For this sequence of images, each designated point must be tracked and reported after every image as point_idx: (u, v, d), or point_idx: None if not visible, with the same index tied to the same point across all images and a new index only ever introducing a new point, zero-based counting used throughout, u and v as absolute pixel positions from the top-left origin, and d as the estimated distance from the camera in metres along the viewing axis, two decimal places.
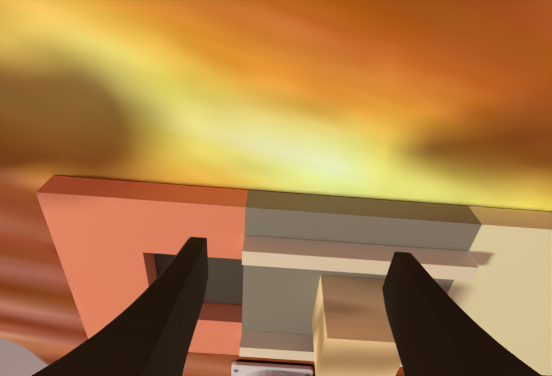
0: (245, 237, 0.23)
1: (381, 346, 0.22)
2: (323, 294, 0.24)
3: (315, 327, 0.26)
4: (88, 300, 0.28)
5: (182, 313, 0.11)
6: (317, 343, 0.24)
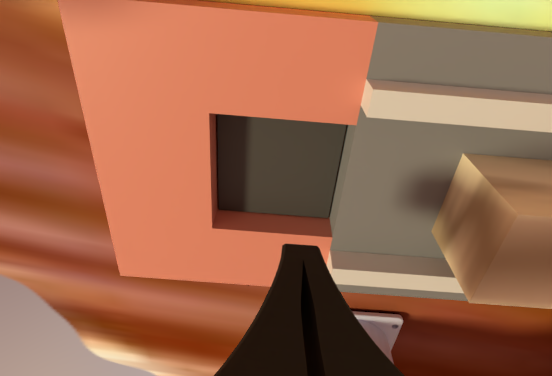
0: (368, 80, 0.16)
1: None
2: (480, 171, 0.16)
3: (451, 231, 0.18)
4: (123, 201, 0.20)
5: None
6: (466, 247, 0.17)
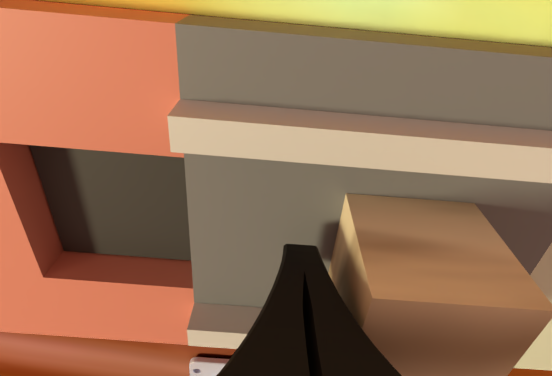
0: (181, 101, 0.12)
1: (490, 318, 0.10)
2: (354, 221, 0.12)
3: None
4: None
5: None
6: None
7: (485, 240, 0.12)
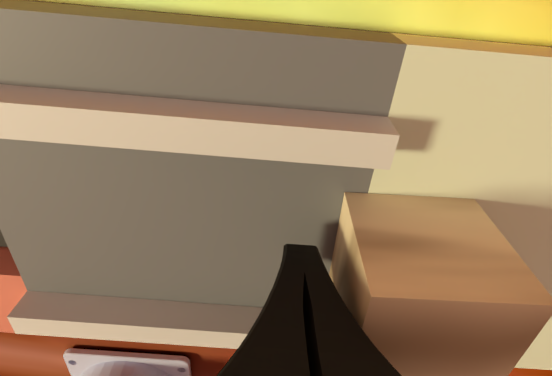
0: None
1: (491, 313, 0.10)
2: (353, 220, 0.12)
3: None
4: None
5: None
6: None
7: (486, 236, 0.12)
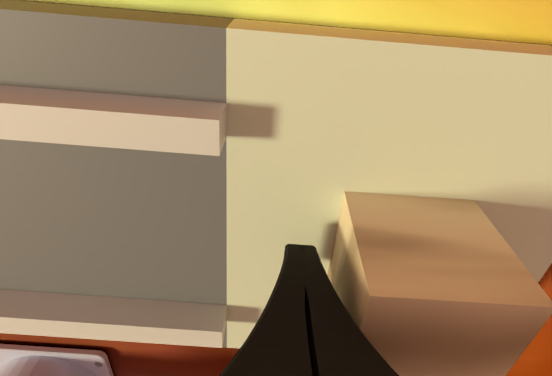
0: None
1: (489, 314, 0.10)
2: (352, 219, 0.12)
3: None
4: None
5: None
6: None
7: (484, 236, 0.12)
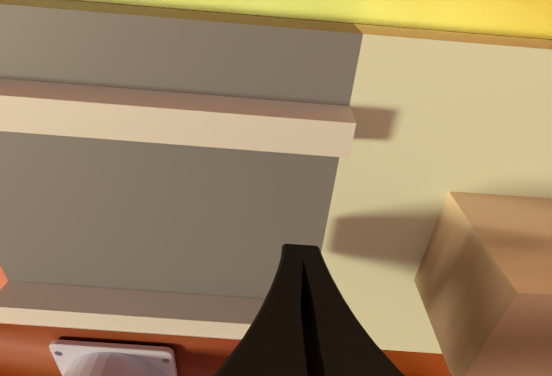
0: None
1: None
2: (469, 218, 0.12)
3: (435, 288, 0.14)
4: None
5: None
6: (452, 314, 0.13)
7: None
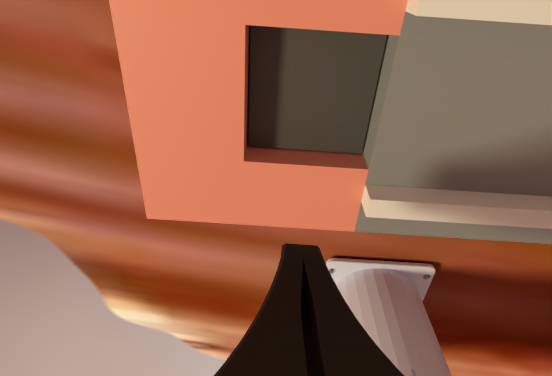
0: None
1: None
2: None
3: None
4: (152, 131, 0.19)
5: None
6: None
7: None
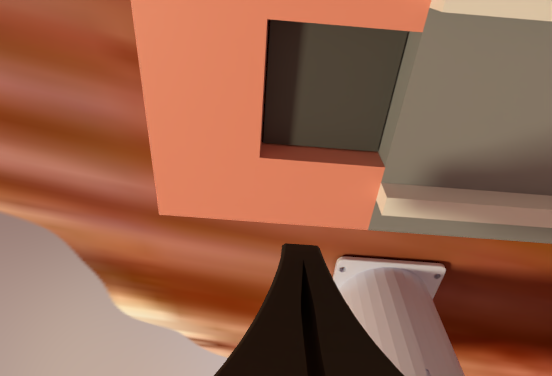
0: None
1: None
2: None
3: None
4: (168, 126, 0.19)
5: None
6: None
7: None
